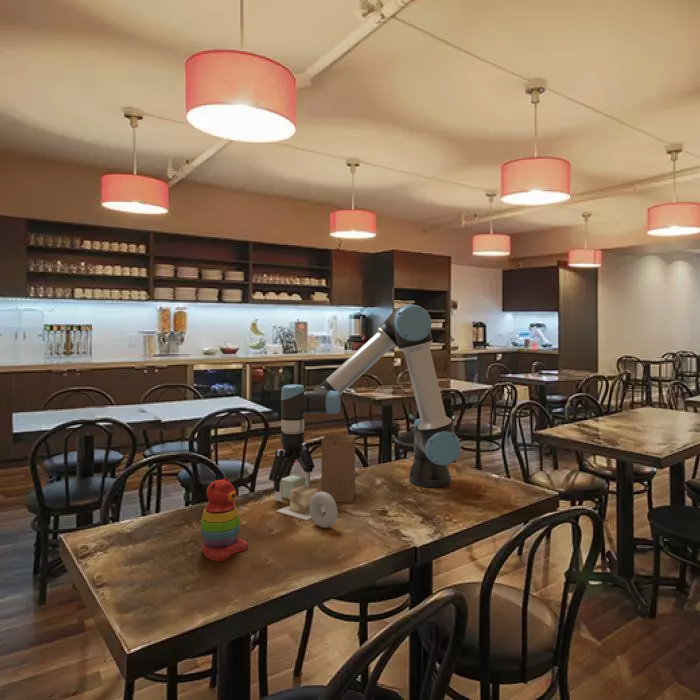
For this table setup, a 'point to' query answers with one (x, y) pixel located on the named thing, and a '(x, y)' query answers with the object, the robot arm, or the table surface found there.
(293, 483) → the sage cube
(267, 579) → the table surface
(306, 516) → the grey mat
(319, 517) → the donut
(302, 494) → the maple cube
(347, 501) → the wooden block
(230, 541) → the stacking bear
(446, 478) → the robot arm
